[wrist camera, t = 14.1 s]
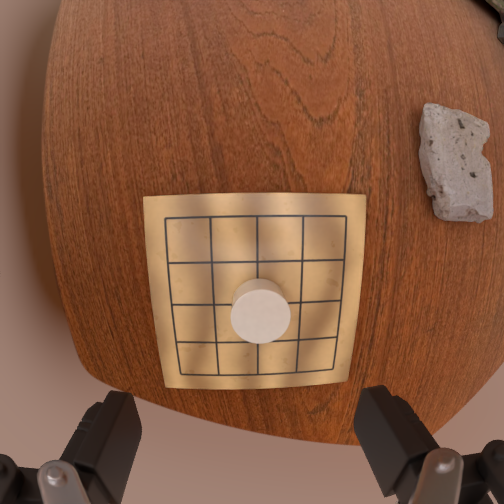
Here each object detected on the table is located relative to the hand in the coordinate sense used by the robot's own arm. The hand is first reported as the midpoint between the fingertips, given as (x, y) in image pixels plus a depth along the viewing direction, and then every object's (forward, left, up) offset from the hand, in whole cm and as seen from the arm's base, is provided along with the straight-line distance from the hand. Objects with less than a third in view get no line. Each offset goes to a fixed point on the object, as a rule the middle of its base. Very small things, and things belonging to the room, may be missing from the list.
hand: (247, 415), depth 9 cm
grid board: (+1, -3, -19) cm, 19 cm away
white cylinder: (+1, -3, -18) cm, 18 cm away
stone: (+22, +11, -19) cm, 31 cm away
